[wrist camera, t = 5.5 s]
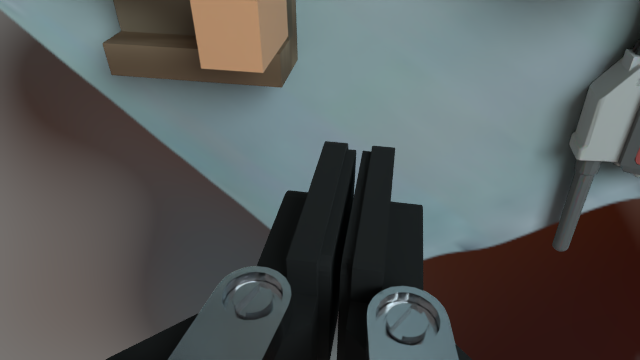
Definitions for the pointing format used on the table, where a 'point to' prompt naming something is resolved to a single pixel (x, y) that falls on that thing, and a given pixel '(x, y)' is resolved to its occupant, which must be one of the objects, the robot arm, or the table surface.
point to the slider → (239, 33)
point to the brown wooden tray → (182, 46)
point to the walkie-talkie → (604, 135)
